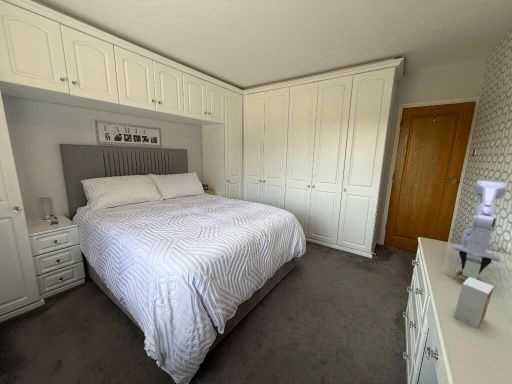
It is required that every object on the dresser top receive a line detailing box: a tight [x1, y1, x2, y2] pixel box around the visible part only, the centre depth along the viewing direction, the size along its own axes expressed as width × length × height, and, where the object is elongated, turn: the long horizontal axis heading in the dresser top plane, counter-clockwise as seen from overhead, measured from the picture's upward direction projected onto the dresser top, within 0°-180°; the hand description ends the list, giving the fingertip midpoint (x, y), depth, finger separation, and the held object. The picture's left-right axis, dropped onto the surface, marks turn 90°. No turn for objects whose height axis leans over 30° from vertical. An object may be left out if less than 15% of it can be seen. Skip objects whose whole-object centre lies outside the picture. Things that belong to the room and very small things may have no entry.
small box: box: [453, 277, 495, 329], centre depth 73 cm, size 8×6×13 cm
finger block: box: [462, 257, 481, 280], centre depth 95 cm, size 6×4×7 cm
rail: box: [454, 266, 481, 284], centre depth 98 cm, size 16×8×6 cm, turn 136°
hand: (470, 270), depth 95 cm, fingers closed on finger block, 4 cm apart
